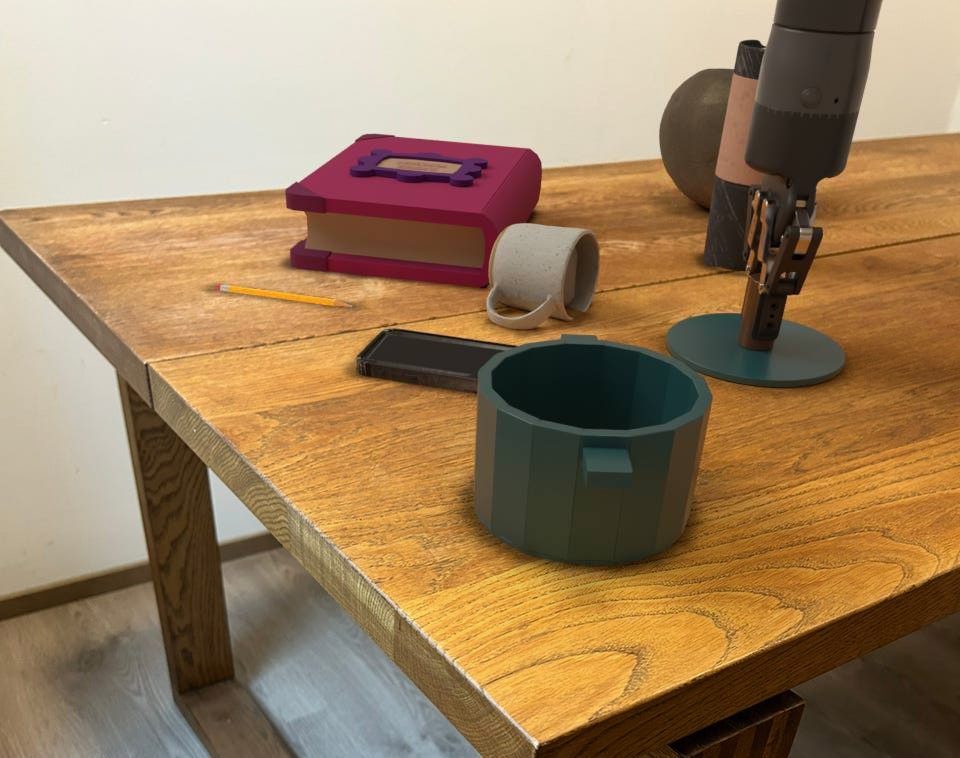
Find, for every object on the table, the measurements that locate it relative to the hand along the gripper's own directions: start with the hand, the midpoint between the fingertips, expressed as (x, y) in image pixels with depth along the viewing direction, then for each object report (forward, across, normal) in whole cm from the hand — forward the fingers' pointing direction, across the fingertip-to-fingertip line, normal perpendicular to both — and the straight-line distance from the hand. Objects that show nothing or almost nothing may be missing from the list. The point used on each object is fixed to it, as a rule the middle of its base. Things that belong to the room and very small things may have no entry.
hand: (758, 329), depth 83 cm
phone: (+3, -5, +25) cm, 26 cm away
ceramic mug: (+3, +8, +18) cm, 20 cm away
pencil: (+3, +10, +41) cm, 42 cm away
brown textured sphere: (+3, +47, -5) cm, 47 cm away
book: (+3, +30, +29) cm, 42 cm away
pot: (+2, -26, +17) cm, 31 cm away
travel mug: (+3, +25, -4) cm, 25 cm away
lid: (+2, 0, 0) cm, 2 cm away
